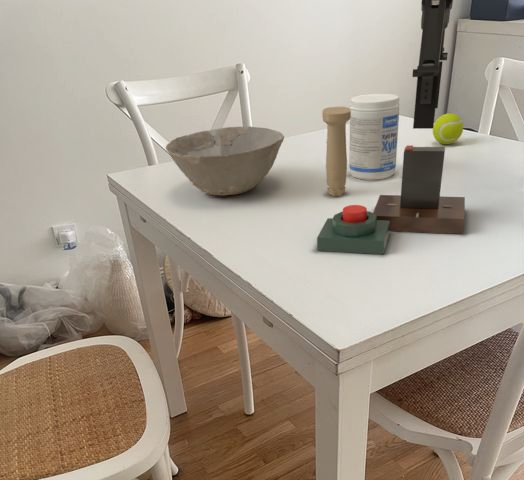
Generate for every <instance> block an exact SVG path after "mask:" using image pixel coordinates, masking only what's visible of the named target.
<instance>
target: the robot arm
mask: <svg viewBox="0 0 524 480" xmlns="http://www.w3.org/2000/svg"><path fill="white" fill-rule="evenodd" d="M420 3H421V5H420V7H421V10H420V11H421V19H420V29H421V31H422V33H421V38H420V39H421V41H420V49H419V58H418V65H417V66H416V67H417V68H413V69H412V75H411V76H412V78H416V90H415V100H414V112H413V124H412V129H417V130H419V129H420V130H421V129H423V130H424V129H428V130H429V129H432V130H433V127H434V124H435V117H436V109H438V108H439V98H440V89H441V80H442V71H443V62H444V61H448V56H449V55H448V54H449V52H445V47H444V46H445V36H446V29H447V28H448V25H449V23H450V16H451V10H452V9H453V4H454V0H421V2H420Z"/></svg>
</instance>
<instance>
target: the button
mask: <svg viewBox="0 0 524 480" xmlns="http://www.w3.org/2000/svg"><path fill="white" fill-rule="evenodd" d="M342 211H343V221H345V222H348V223H358V222H364V221H366V219H367V211H368V209H367V207H366V206H365V205H362V204H361V205H360V204H351V205H350V204H349V205H347V206H344V207H343V208H342Z"/></svg>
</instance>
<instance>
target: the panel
mask: <svg viewBox="0 0 524 480" xmlns="http://www.w3.org/2000/svg"><path fill="white" fill-rule="evenodd" d="M400 200H401V194H400V195H399V194H398V195H397V194H379V196H378V198H377V202H376V204H375V207H374V209H373V211H372V213H373V214H375V215H376V216H377V220H386V221H390V232H402V233H423V234H425V233H426V234H446V235H463V233H464V225H465V217H466V216H465V212H466V211H465V210H466V208H465V207H466V206H465V205H466V201H465V200H466V196H441V195H440V198H439V207H438V209H426V208H400Z"/></svg>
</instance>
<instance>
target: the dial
mask: <svg viewBox="0 0 524 480" xmlns="http://www.w3.org/2000/svg"><path fill="white" fill-rule="evenodd" d="M445 153H446V147H445V146H414V145H406V146H405V147H404V150H403V157H402V159H403V160H402V173H401V187H400V195H401V200H400V208H426V209H438V207H439V198H440V196H441V188H442V179H443V171H444V162H445Z"/></svg>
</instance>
